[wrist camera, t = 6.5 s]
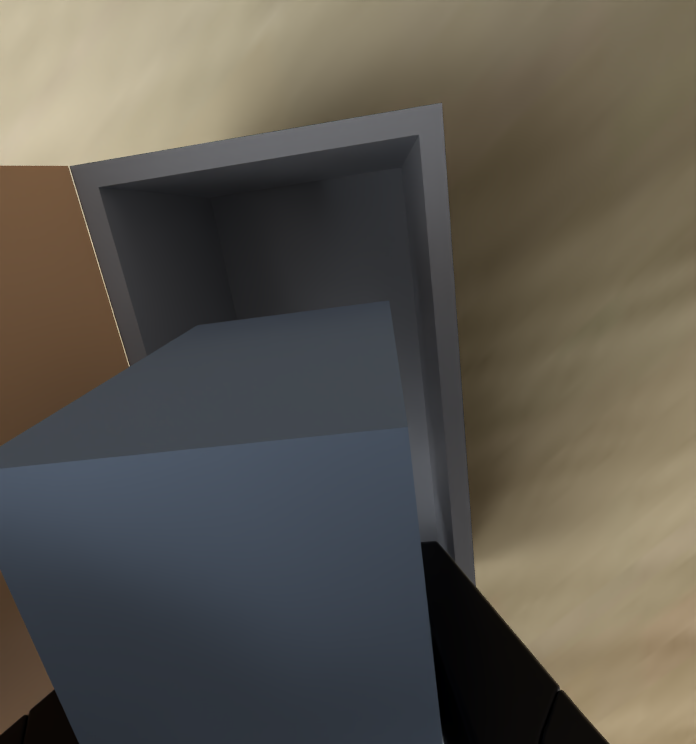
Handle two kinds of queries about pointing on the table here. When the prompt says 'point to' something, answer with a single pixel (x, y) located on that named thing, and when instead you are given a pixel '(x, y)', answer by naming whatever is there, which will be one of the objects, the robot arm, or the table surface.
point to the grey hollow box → (302, 260)
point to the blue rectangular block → (230, 541)
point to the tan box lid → (44, 356)
